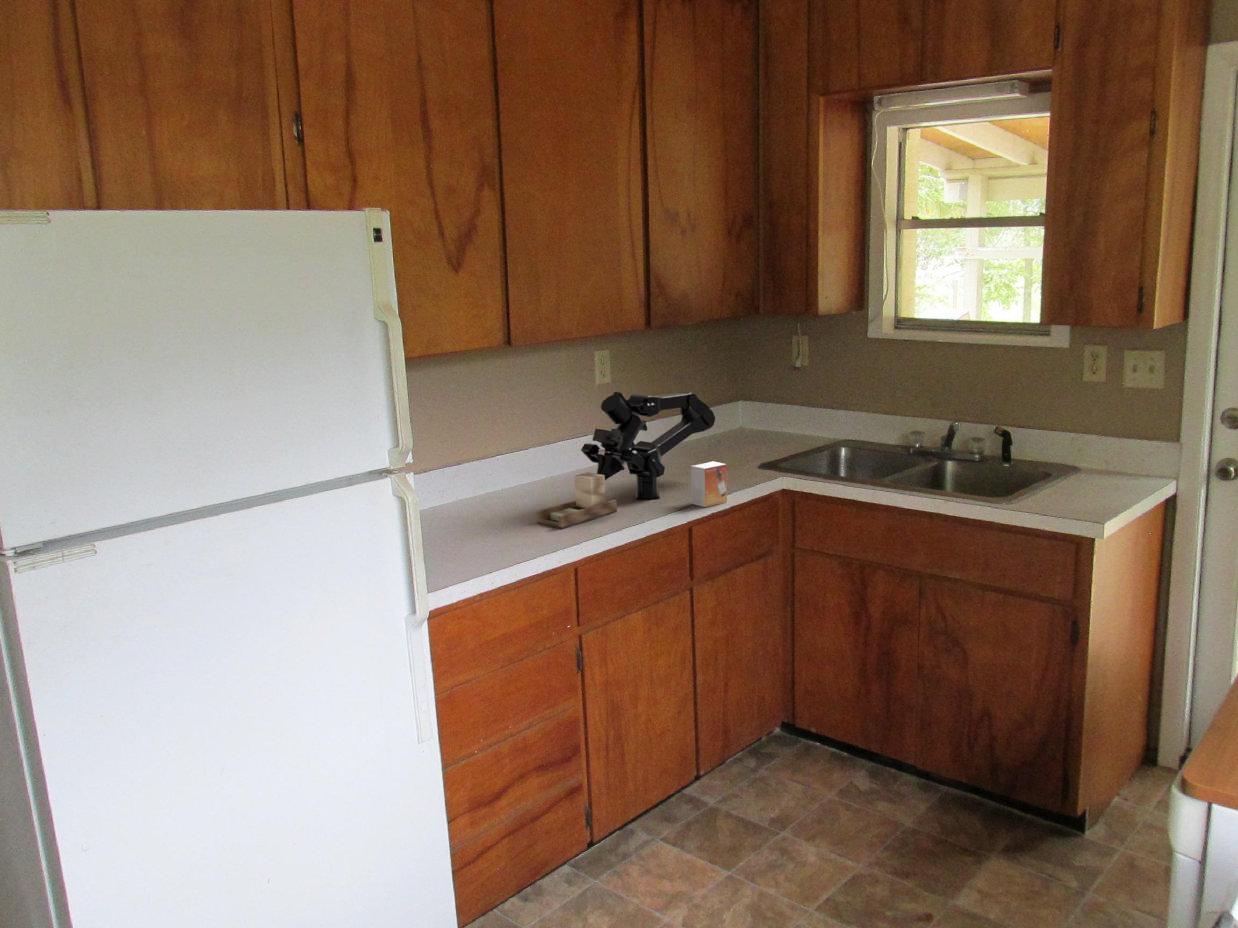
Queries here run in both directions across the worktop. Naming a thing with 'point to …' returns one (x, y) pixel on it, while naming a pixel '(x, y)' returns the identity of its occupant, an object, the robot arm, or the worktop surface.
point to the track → (574, 514)
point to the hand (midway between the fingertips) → (597, 482)
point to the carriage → (589, 489)
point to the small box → (709, 484)
